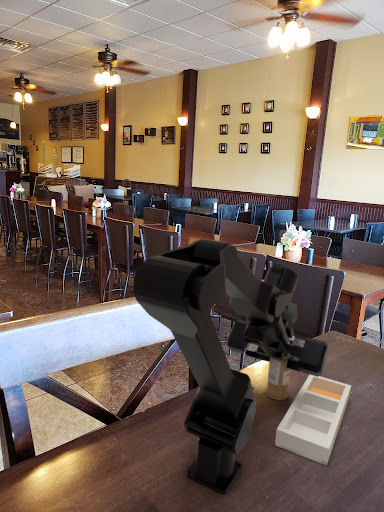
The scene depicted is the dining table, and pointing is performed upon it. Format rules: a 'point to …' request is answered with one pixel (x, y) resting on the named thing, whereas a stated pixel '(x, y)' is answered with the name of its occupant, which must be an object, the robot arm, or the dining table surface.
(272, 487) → the dining table surface
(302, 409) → the condiment rack
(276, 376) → the sprinkles bottle
